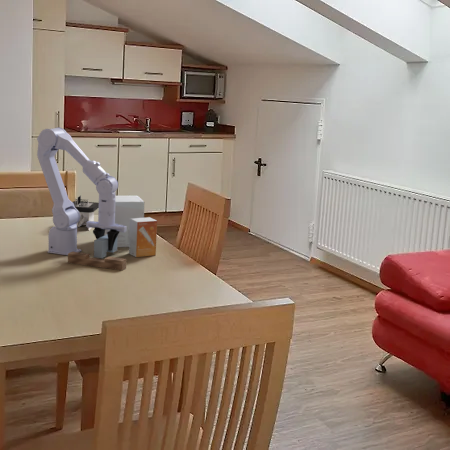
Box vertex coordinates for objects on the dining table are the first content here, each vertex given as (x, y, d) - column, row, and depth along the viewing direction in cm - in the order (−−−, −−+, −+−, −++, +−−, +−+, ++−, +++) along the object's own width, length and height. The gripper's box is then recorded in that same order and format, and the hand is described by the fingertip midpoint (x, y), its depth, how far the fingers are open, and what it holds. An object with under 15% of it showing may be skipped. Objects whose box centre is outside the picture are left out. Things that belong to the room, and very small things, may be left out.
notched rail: (67, 262, 218) (67, 253, 217) (72, 260, 221) (72, 251, 220) (122, 270, 213) (122, 261, 212) (126, 268, 216) (126, 258, 215)
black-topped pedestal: (60, 219, 283) (60, 189, 280) (120, 223, 282) (121, 193, 279) (40, 234, 255) (40, 201, 252) (106, 238, 255) (107, 205, 252)
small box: (136, 257, 229) (137, 222, 226) (128, 253, 234) (129, 218, 231) (156, 255, 233) (157, 220, 231) (148, 251, 238) (149, 216, 236)
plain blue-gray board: (93, 257, 222) (94, 240, 221) (109, 249, 234) (109, 233, 232) (101, 258, 221) (102, 241, 220) (117, 250, 233) (117, 234, 231)
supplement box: (137, 238, 256) (138, 195, 253) (143, 246, 244) (145, 201, 241) (103, 239, 252) (104, 195, 248) (108, 247, 240) (109, 201, 236)
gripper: (82, 211, 222) (81, 249, 225) (121, 216, 219) (119, 254, 222) (92, 207, 229) (91, 244, 232) (129, 212, 225) (128, 250, 228)
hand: (105, 249), depth 227 cm, fingers closed on plain blue-gray board, 3 cm apart
